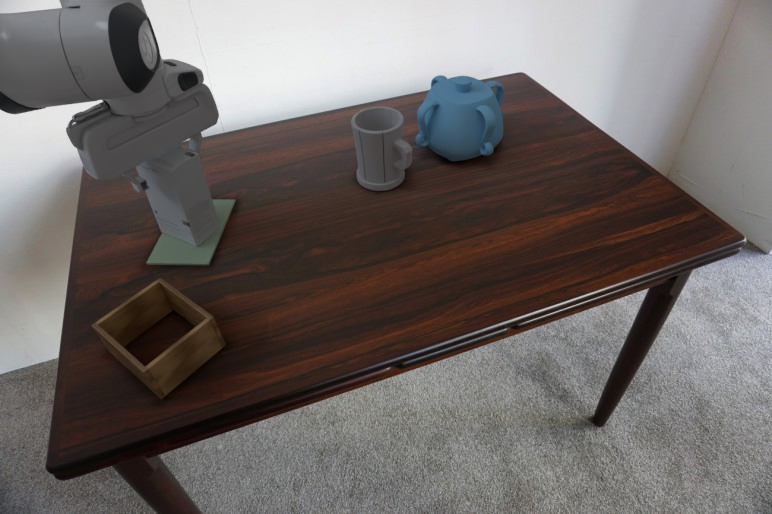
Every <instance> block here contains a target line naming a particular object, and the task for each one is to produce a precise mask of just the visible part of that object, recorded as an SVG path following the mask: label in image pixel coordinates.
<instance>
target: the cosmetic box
mask: <svg viewBox="0 0 772 514" xmlns="http://www.w3.org/2000/svg"><path fill="white" fill-rule="evenodd" d="M187 149H188V148H187ZM187 149H186V148H184V147H182V146H181V145H179V144H178V145H176V146H174V147H172V148H170V149H168V150H166V151H164V152H163V153H161V154H159V155H157V156H155V157H153V158H151V159H149V160H147V161H146V162H144V163H142V164H140V165H138V166H136V167H135V169H136V172H137V174H138V176H140V177H141V178H144V179H145V180H146V182H147V185H148V186H149V189H148V190H146V191H144V192H145V195H146V197H147V199H148V202H149V204H150V205H149V206H151V209H152V212H153V214H154V217H155V221H156V224H157V225H158V227H159V231H160V232H161V234H162V233H164V234H167V235H170V236H173V237H176V238H178V239H180V240H183V241H185V242H187V243H190V244H192V245H193V246H199V245H200V244H201V243H202V242H203V241H205V240H206V239H207V238H208V237H209V236H210V235H211V234H213V233H214V232H215V231H216V230H217V229H218V228H219V227H220V225H219V221H218V218H217V214H216V211H215V208H214V204H213V201H212V199H213V197H212V194H211V191H210V188H209V187H210V186H209V183H208V180H207V177H206V174H205V170H204V167H203V163H202V159H201V160H200V156H199V153H196V152H193V151H190V150H187Z"/></svg>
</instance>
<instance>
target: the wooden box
mask: <svg viewBox="0 0 772 514" xmlns="http://www.w3.org/2000/svg"><path fill="white" fill-rule="evenodd" d="M173 311H174V312H175V313H176V314H178V315H179V316H180V317H181V318H183V319H184V320H185V321H187V322H188V323H189V324H191V325H192V326H193V328H192V329H190V331H188V332H187V333H186V334H185V335H184V336H182V337H181V338H180V339H178V340H177V341H176V342H174V343H173V344H172V345H171V346H169V347H168V348H167V349H166V350H164V351H163V352H162V353H160V354H159V355H158V356H157V357H155V358H154V359H153V360H152V361H150V362H149V363H148V364H147V365H144V364H143V363H142V362H140V361H139V360H138V359H137V358H136V357H135V356H134V355H133V354H131V353H130V352H129V351H128V350H127V349H126V348H125V347H126V346H127V345H129V344H130V343H131V342H133V341H134V340H136V338H138V337H139V336H141V335H142V334H143V333H145V332H146V331H148V330H149V329H150V328H151V327H153V326H154V325H156V324H157V323H159V321H161V320H162V319H164V318H165V317H166V316H167V315H169V314H170V313H172V312H173ZM91 327H92V329H93V330H94V332H95V333H96V335H97V336H98V337H99V339H100V340H101V341H102V343H103V344H104V346H105V348H106V349H107V350H108V351H109V353H110V354H112V356H113V357H114V358H115V359H116V360H117V361H119V363H121V364H122V365H123V366H124V367H125V368H126V369H127V370H128V371H130V373H131V374H133V375H134V376H135V377H136V378H137V379H138V380H139V381H140V382H142V384H143V385H145V386H146V387H147V388H148V389H149V390H150V391H151V392H152V393H153V394H155V395H156V396H157V397H158V398H159V399H160V400H163V399H164V398H165V397H166V396H167V395H168V394H169V393H171V392H172V391H173V390H174V389H176V388H177V387H178V386H179V385H180V384H182V383H183V381H185V380H187V378H189V377H190V376H191V375H192V374H193V373H195V372H196V371H198V369H199V368H200V367H202V366H203V365H204V364H206V362H208V361H209V360H210V359H211V358H213V356H214V355H216V354H217V353H219V351H221V349H223V348H224V347H226V342H225V340H224V338H223V336H222V333H221V330H220V328H219V326H218V324H217V322H216V319H215V316H213V315H212V314H211V313H209V312H208V311H206V310H205V309H204V308H203V307H201V306H199V304H197V303H196V302H194V301H192V299H190V298H189V297H187V296H186V295H185V294H183V293H182V292H181V291H179V290H178V289H177V288H175V287H174V286H173V285H171V284H169V283H168V282H167V281H165V280H164V279H163V278H161V277H159V278H157V280H155V281H153V282H151V283H150V284H149V285H147V286H146V287H145V288H143V289H141V290H140V291H139V292H137V293H136V294H134V295H132V297H130V298H129V299H127V300H126V301H124V302H123V303H121V304H120V305H119V306H117V307H115V308H114V309H113V310H111V311H110V312H108V313H107V314H105V315H103V317H101V318H100V319H98V320H97V321H95V322H94V323H92V324H91Z"/></svg>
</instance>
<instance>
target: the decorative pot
mask: <svg viewBox="0 0 772 514" xmlns="http://www.w3.org/2000/svg"><path fill="white" fill-rule="evenodd" d="M430 81H431V82H430V89H429V91H428V92H427V94H426V96H425V98H424V100H423V102H422V103H421V105H420V106H419V107H418V109H417V112H416V120H417V129H418V132H419V133H417V135H415V138H414V142H415V144H416V146H418V147H421V148H425V147H427V146H428V148H429V149H430V150H431V151H433V152H434V153H436V154H437V155H438V156H441V157H443V158H445V159H447V160H448V161H449V162H450V161H451V162H458V161H466V160H470V159H474V158H478V157H480V156H486V157H487V156H491V155H492V154H493V153H494V149H495V148H496V147H497V146H498V145H499V143H500V142H501V140H502V139H503V136H504V112H503V109H502V108H501V105H502V102H503V100H504V96H505V87H504V85H503V84H502V83H501V82H500V81H498V80H489V81H486V82H484V81H482V80H480V79H478V78H476V77H473V76H468V75H457V76H453V77H452V76H451V77H449V78H448V77H446V76H445V75H443V74H440V75H436V76H434V77H433V78H432V79H431V80H430ZM494 88H496V93H495V92H494V90H493V89H494Z"/></svg>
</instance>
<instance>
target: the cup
mask: <svg viewBox="0 0 772 514" xmlns="http://www.w3.org/2000/svg"><path fill="white" fill-rule="evenodd" d="M404 122H405V118H404V115H403V113H402V112H401V111H399V110H397V109H396V108H393V107H390V106H380V105H379V106H369V107H365V108H362V109H360V110H359V111H357V112H356V113H354V114H353V115H352V117H351V119H350V125H351V130H352V135H353V141H354V146H355V151H356V158H357V161H356V162H357V169H356V170H355V171H356V181H357V182H358V184H359V185H360V186H361V187H363V188H365V189H366V190H369V191H375V192H386V191H389V190H394V189H395V188H396V187H398V186H400V185H401V184H402V183H403V182H404V180H405V176H406V175H405V174H406V173H405V171H406V169H407V168H409V167H410V166H411V165H412V163H413V147H412V145H411V144H410V143H409V142H407V141H405V140H404V137H403V136H404V125H405V124H404Z"/></svg>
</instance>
